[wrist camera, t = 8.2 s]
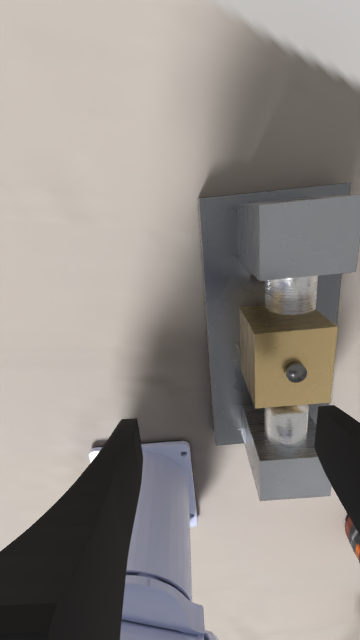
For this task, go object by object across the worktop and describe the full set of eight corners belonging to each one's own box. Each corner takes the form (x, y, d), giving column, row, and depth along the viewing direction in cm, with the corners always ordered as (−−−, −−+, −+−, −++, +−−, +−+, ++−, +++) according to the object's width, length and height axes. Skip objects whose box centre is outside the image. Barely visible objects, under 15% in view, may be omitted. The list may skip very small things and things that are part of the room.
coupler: (302, 364, 20) (333, 407, 16) (241, 370, 20) (256, 413, 16) (305, 301, 18) (341, 330, 14) (239, 307, 18) (256, 337, 14)
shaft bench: (316, 423, 23) (364, 499, 17) (213, 431, 24) (225, 509, 18) (336, 184, 17) (421, 174, 11) (197, 198, 18) (206, 196, 12)
